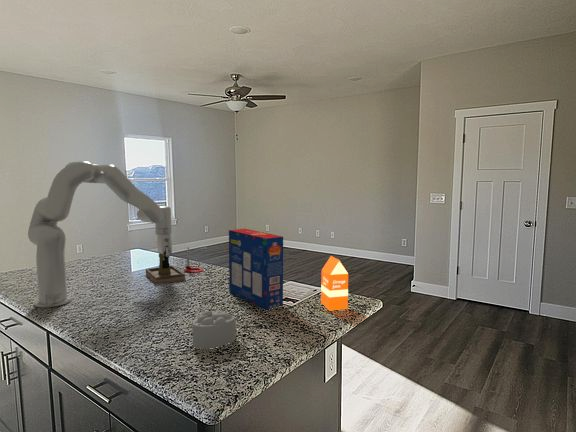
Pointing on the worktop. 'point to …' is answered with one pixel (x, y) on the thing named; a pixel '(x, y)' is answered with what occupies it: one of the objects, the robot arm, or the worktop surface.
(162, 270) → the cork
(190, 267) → the tow hook
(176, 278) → the walnut tray
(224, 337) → the lumpy-topped squat cylinder
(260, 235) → the pasta box
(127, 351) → the worktop surface
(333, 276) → the orange juice
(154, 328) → the worktop surface
